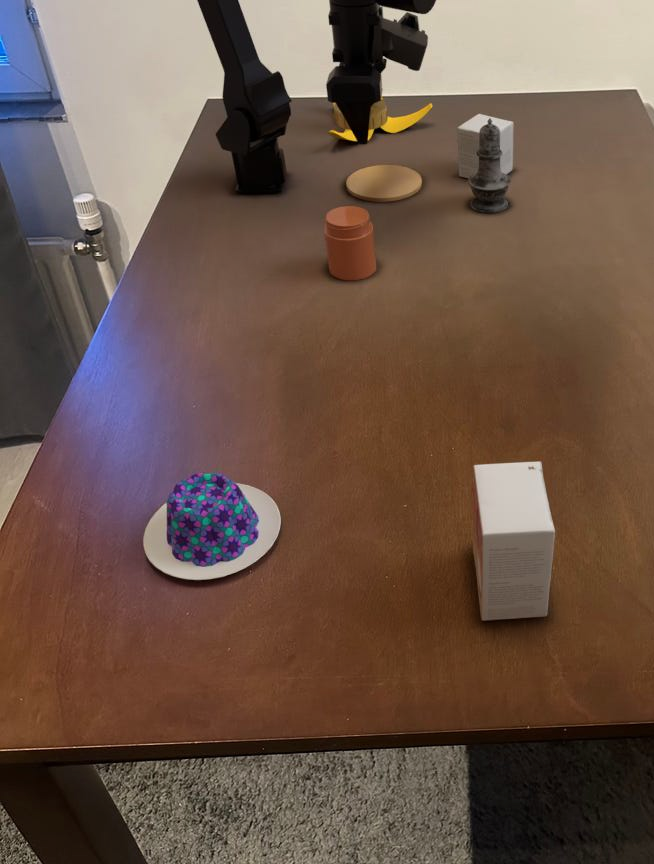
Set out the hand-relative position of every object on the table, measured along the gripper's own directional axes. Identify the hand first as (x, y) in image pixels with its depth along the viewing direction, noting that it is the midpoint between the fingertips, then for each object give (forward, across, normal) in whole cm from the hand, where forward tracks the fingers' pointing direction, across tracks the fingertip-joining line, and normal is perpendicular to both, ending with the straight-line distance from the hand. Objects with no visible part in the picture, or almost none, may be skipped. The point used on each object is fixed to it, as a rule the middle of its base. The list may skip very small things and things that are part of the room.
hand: (364, 133), depth 115 cm
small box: (+11, -67, -16) cm, 70 cm away
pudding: (+11, -61, +10) cm, 63 cm away
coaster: (+11, +10, -1) cm, 15 cm away
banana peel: (+12, +31, 0) cm, 33 cm away
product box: (+12, +13, -16) cm, 24 cm away
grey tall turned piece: (+12, +3, -16) cm, 20 cm away
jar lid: (-3, 0, 0) cm, 3 cm away
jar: (+11, -14, +2) cm, 18 cm away
